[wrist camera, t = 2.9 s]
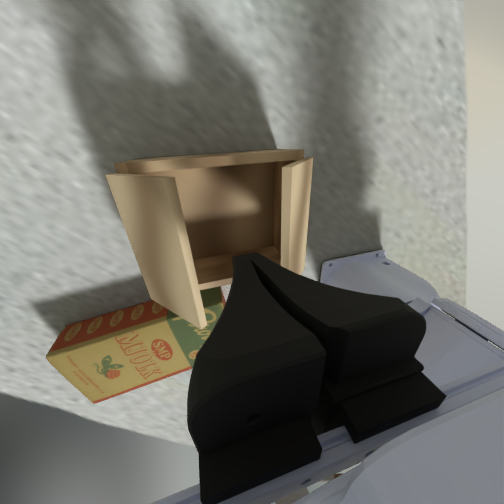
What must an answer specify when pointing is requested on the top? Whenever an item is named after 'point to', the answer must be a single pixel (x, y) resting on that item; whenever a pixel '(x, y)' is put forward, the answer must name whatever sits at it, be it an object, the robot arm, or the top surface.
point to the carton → (131, 347)
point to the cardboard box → (225, 204)
